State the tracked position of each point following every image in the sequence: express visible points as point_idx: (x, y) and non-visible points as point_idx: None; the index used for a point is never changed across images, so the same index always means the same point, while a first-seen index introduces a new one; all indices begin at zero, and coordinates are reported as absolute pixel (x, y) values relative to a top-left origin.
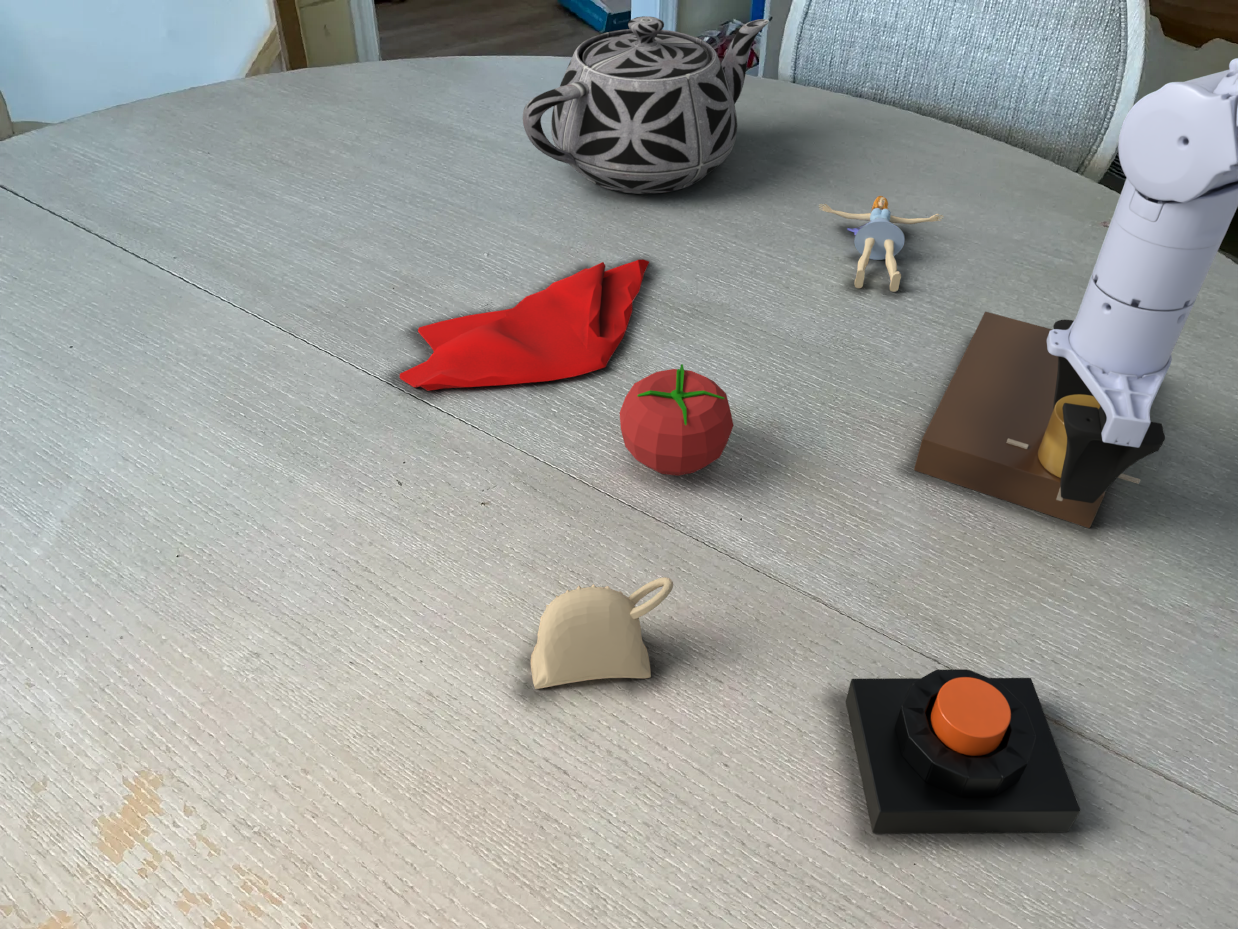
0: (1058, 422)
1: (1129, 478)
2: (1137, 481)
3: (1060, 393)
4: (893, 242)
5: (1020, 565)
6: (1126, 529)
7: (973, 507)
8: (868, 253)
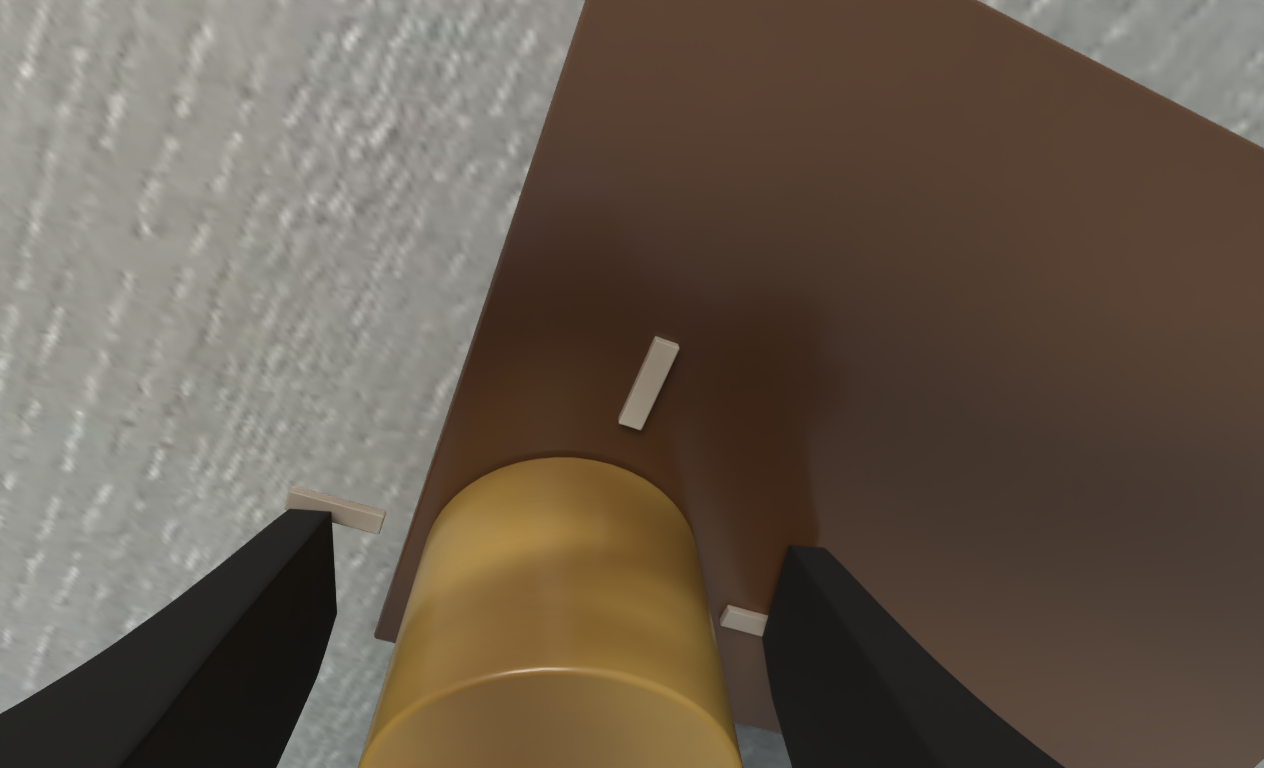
0: (472, 663)
1: None
2: None
3: (854, 658)
4: None
5: (140, 291)
6: None
7: (425, 153)
8: None
